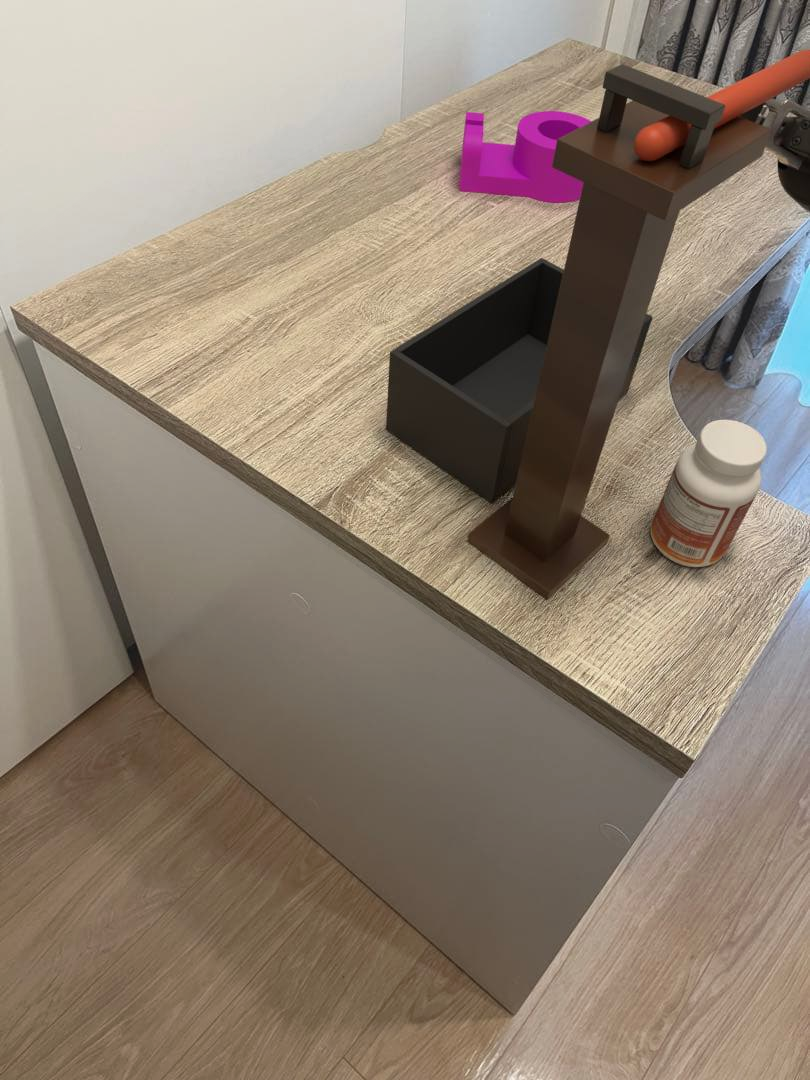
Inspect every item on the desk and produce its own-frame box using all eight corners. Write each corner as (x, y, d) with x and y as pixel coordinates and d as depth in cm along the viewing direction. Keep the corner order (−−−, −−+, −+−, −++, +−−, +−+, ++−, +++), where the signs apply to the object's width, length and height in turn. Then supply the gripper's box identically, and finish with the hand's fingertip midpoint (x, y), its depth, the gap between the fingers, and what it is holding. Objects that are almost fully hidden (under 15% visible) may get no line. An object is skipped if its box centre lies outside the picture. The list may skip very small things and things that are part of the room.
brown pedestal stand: (550, 472, 74) (668, 28, 47) (628, 523, 71) (802, 77, 44) (467, 541, 68) (547, 83, 42) (547, 600, 65) (689, 144, 38)
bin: (526, 333, 86) (541, 257, 79) (627, 393, 81) (653, 316, 74) (385, 429, 76) (389, 351, 69) (491, 504, 71) (506, 427, 64)
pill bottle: (705, 507, 72) (753, 407, 64) (738, 564, 68) (795, 466, 60) (636, 516, 71) (676, 416, 63) (666, 575, 67) (713, 477, 59)
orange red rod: (803, 42, 50) (828, 50, 49) (793, 72, 51) (818, 80, 51) (631, 126, 42) (658, 137, 41) (624, 159, 43) (650, 170, 42)
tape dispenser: (587, 165, 109) (599, 114, 104) (592, 205, 103) (605, 154, 98) (461, 154, 109) (466, 103, 104) (459, 193, 103) (464, 141, 98)
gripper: (784, 91, 73) (736, 25, 60) (950, 153, 67) (938, 96, 54) (735, 179, 76) (679, 135, 63) (890, 246, 70) (864, 213, 57)
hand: (799, 117), depth 58 cm, fingers open, 8 cm apart
